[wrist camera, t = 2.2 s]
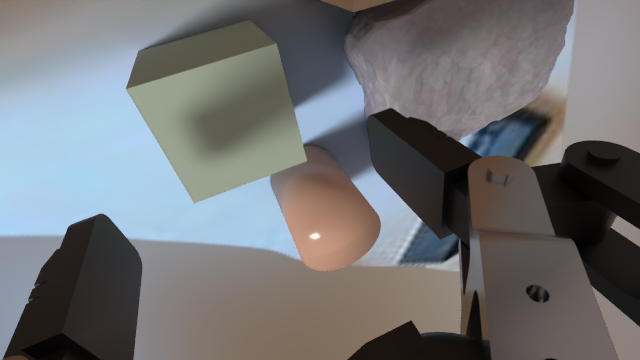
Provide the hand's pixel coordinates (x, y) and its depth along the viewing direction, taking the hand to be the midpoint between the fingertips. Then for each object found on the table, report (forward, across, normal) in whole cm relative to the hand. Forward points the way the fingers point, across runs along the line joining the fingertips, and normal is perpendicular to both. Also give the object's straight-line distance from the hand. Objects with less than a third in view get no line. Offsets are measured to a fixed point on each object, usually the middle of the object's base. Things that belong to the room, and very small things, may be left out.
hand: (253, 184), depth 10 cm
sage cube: (+8, 0, 0) cm, 8 cm away
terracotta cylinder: (+8, -3, +6) cm, 11 cm away
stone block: (+9, -13, +2) cm, 16 cm away
